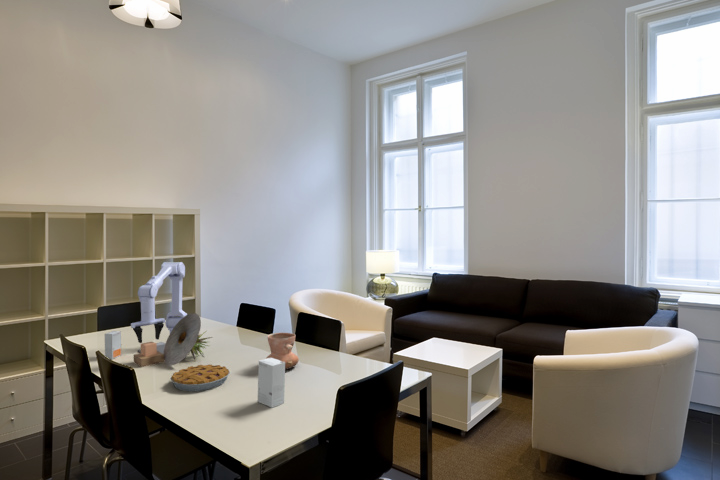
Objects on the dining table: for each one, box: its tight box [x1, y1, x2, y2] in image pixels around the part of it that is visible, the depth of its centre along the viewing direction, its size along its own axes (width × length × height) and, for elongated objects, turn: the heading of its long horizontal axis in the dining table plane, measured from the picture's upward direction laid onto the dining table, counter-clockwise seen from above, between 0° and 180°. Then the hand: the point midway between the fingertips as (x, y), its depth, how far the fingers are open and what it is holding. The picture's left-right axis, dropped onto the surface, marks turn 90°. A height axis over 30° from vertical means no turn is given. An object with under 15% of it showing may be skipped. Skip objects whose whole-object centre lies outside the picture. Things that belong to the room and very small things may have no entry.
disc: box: [164, 312, 214, 366], centre depth 209 cm, size 25×18×25 cm
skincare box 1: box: [104, 330, 122, 360], centre depth 212 cm, size 6×4×12 cm
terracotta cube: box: [140, 341, 158, 357], centre depth 204 cm, size 5×5×5 cm
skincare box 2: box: [257, 357, 286, 408], centre depth 156 cm, size 8×6×15 cm
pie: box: [170, 364, 231, 392], centre depth 177 cm, size 22×22×5 cm
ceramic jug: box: [265, 332, 300, 371], centre depth 195 cm, size 18×14×14 cm
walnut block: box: [133, 351, 165, 368], centre depth 204 cm, size 10×10×4 cm
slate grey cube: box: [156, 341, 166, 354], centre depth 218 cm, size 5×5×5 cm
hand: (148, 340), depth 204 cm, fingers open, 7 cm apart
